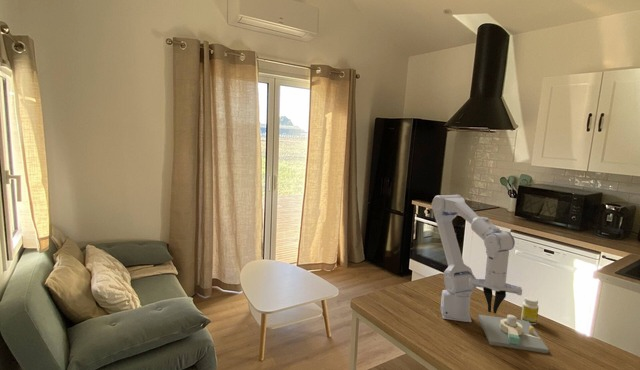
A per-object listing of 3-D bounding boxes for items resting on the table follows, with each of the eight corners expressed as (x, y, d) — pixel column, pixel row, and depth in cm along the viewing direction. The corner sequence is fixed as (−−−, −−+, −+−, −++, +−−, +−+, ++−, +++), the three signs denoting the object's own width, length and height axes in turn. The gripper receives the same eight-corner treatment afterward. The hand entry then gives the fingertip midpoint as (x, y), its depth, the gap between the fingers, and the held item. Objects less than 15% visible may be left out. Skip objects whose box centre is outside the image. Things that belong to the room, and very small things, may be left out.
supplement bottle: (539, 325, 113) (541, 302, 112) (523, 323, 114) (526, 301, 113) (533, 318, 118) (535, 296, 117) (518, 316, 119) (521, 294, 118)
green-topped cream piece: (499, 322, 112) (499, 317, 112) (519, 327, 109) (520, 321, 109) (502, 341, 102) (503, 335, 101) (525, 346, 99) (526, 340, 99)
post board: (490, 344, 102) (491, 326, 101) (478, 317, 118) (479, 301, 117) (548, 353, 99) (550, 334, 98) (528, 324, 114) (530, 308, 113)
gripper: (470, 270, 101) (466, 311, 103) (525, 279, 95) (520, 323, 97) (470, 262, 108) (466, 301, 109) (521, 270, 102) (517, 311, 104)
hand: (491, 311), depth 104 cm, fingers closed
